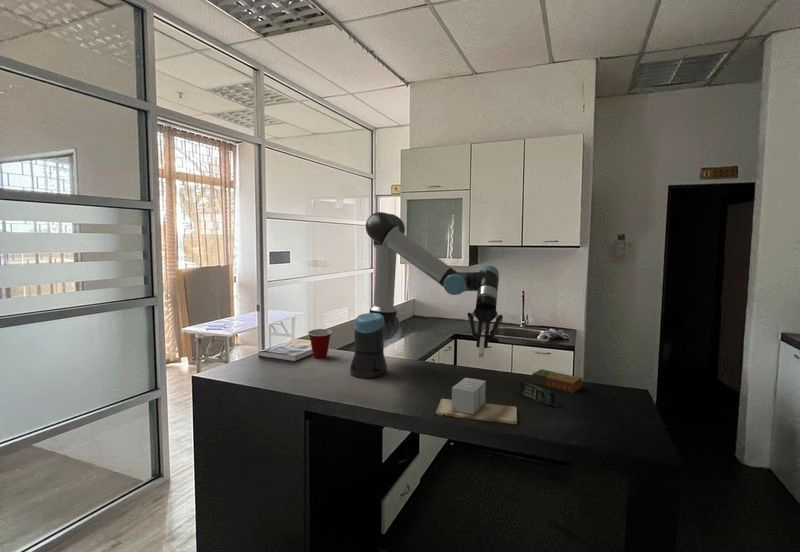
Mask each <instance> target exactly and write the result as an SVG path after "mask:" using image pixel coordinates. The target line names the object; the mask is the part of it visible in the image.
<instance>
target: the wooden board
mask: <svg viewBox="0 0 800 552" xmlns="http://www.w3.org/2000/svg"><path fill="white" fill-rule="evenodd" d="M435 414H437V415H436V416H443V415H445V416H446V417H451V416H452V417H454V418H459V419H460V418H461V419H468V420H478V421H486V422H493V423H501V424H502V423H503V424H511V425H518V413H517V406H512V405H511V406H510V405H505V404H504V405H501V404H493V403H486V402H485V403H484V404H483V405H482V406H481V407H480V408H479V409H478V410H477V411H476V412H475V413H474V414H468V413H463V412H458V411H452V399H447V398H441V399H440V402H439V403H438V406H437V408H436V411H435ZM445 416H444V417H445Z"/></svg>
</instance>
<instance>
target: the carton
mask: <svg viewBox="0 0 800 552" xmlns="http://www.w3.org/2000/svg"><path fill="white" fill-rule="evenodd" d="M531 384H535V385H541V386H543V387H544V386H545V387H548V388H553V389H556V390H559V391H560V390H561V391H563V392H568V393H571V394H572V393H573V394H574V393H575V392H577V391H579V390H580V389H582V387H583V378H582V377H580V376H575V375H571V374H570V375H569V374H566V373H560V372H556V371H552V370H548V369H547V370H546V369H544V368H543V369H539V370H537V371H534V372H533V373H532V376H531Z"/></svg>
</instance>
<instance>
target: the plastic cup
mask: <svg viewBox="0 0 800 552" xmlns="http://www.w3.org/2000/svg"><path fill="white" fill-rule="evenodd" d="M332 333H333V331H332V330H331V329H328V328H316V329H310V330H309V331H307V334H308V337H309V339H310V340H309V341H310V345H311V351H312V356H313V358H314V359H325V358H327V356H328V350H329V345H330V338H331V335H332Z"/></svg>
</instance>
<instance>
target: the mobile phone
mask: <svg viewBox="0 0 800 552" xmlns="http://www.w3.org/2000/svg"><path fill="white" fill-rule="evenodd" d="M519 394H520V395H521V396H524V397H526V398H528V399H530V400H534V401H536V402H538V403H539V404H542V405H547V406H552V407H556V408H559V404H558V405H557V404H556V403H555V393H554V392H553V391H552V390H549V389H548V388H545V387H544V386H539V385H538V384H536V383H532V382H527V381H522V382H520V392H519Z"/></svg>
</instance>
